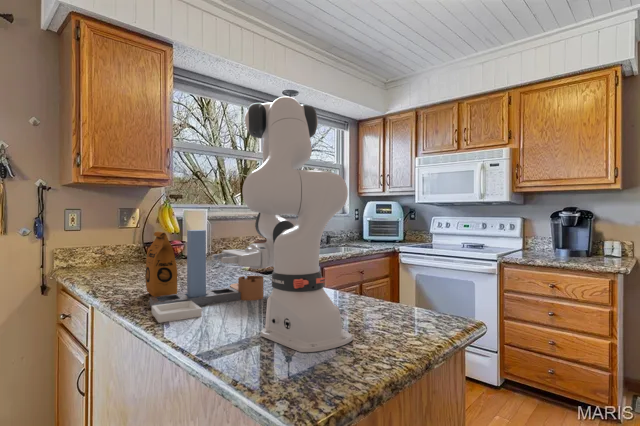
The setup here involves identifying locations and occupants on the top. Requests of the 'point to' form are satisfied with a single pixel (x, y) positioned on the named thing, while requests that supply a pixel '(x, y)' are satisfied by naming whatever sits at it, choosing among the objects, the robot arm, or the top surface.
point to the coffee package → (161, 267)
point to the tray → (176, 311)
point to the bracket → (249, 287)
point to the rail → (199, 297)
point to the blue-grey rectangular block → (196, 263)
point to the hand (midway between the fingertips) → (217, 258)
